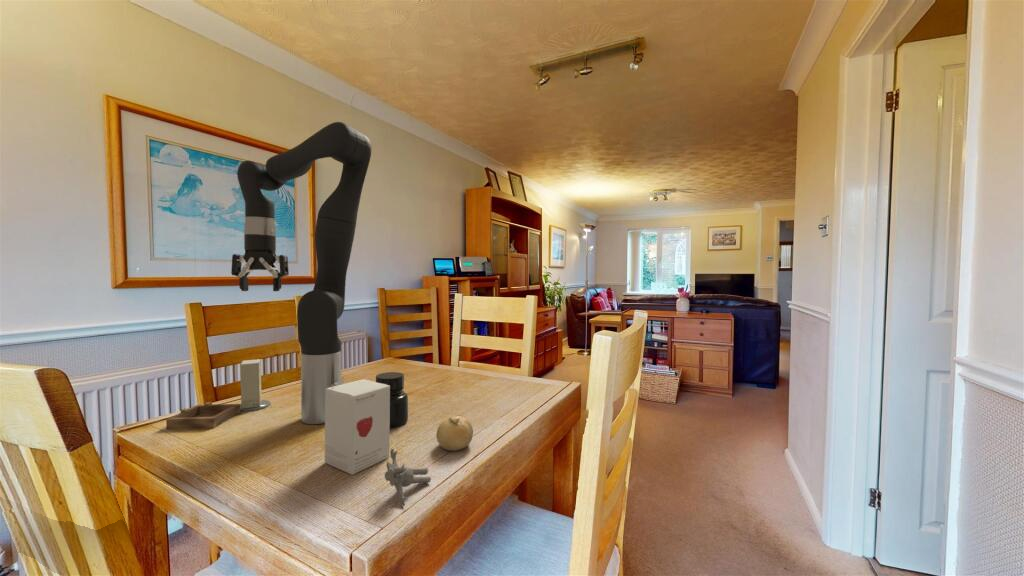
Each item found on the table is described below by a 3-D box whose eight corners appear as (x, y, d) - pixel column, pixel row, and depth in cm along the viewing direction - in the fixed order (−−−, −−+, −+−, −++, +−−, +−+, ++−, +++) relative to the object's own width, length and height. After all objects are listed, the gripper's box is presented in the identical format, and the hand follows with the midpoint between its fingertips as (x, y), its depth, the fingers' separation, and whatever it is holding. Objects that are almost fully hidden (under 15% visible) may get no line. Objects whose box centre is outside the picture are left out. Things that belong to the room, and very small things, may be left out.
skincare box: (260, 407, 105) (259, 362, 105) (240, 409, 103) (239, 364, 103) (261, 400, 111) (261, 358, 110) (243, 402, 109) (242, 359, 108)
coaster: (275, 401, 112) (275, 399, 112) (260, 411, 104) (260, 409, 104) (246, 402, 111) (246, 400, 111) (228, 412, 103) (228, 409, 103)
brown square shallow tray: (240, 412, 102) (240, 401, 102) (213, 428, 92) (213, 415, 92) (197, 413, 101) (197, 402, 101) (166, 429, 91) (165, 416, 91)
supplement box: (351, 476, 71) (352, 396, 70) (323, 463, 76) (323, 388, 75) (391, 457, 79) (391, 384, 78) (362, 446, 83) (363, 378, 83)
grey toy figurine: (445, 495, 66) (402, 497, 59) (423, 513, 67) (379, 517, 61) (430, 441, 72) (390, 438, 66) (411, 459, 74) (369, 458, 67)
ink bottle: (373, 416, 101) (373, 371, 100) (408, 414, 103) (408, 369, 103) (369, 431, 91) (369, 381, 91) (407, 428, 94) (407, 379, 93)
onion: (428, 447, 84) (428, 414, 83) (456, 436, 90) (456, 405, 89) (452, 458, 78) (452, 424, 78) (480, 446, 84) (481, 414, 84)
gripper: (292, 236, 114) (292, 290, 115) (241, 235, 113) (242, 290, 113) (280, 233, 107) (280, 291, 107) (225, 232, 105) (225, 291, 106)
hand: (260, 291), depth 110 cm, fingers open, 8 cm apart
